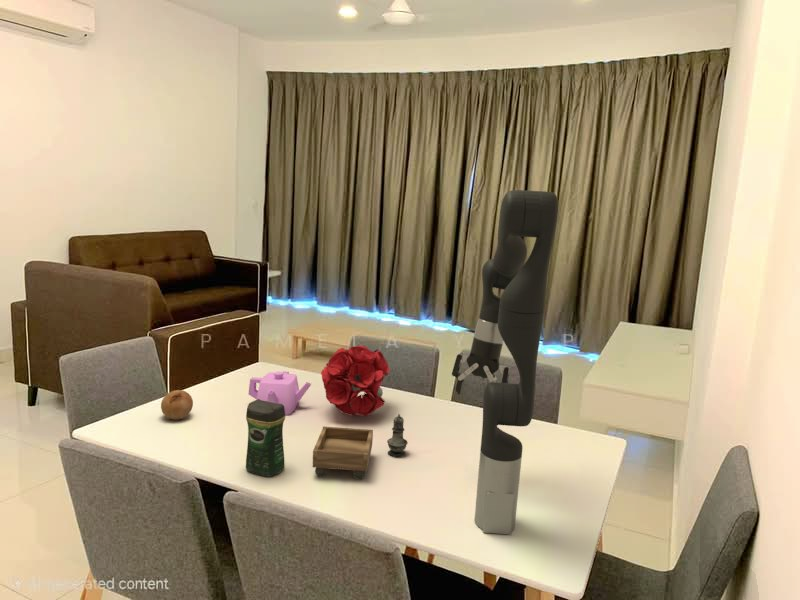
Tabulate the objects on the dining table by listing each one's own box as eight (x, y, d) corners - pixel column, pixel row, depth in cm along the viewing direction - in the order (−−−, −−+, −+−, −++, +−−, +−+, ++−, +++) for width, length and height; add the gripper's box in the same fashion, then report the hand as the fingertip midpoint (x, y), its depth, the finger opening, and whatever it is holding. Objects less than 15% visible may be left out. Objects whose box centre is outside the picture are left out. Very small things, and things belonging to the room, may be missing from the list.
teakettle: (285, 395, 209) (286, 362, 207) (313, 409, 197) (314, 374, 195) (242, 405, 198) (242, 370, 195) (269, 421, 186) (269, 384, 183)
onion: (180, 431, 182) (179, 409, 176) (154, 419, 183) (153, 396, 178) (199, 411, 189) (199, 389, 183) (175, 400, 191) (174, 378, 185)
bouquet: (338, 414, 212) (301, 396, 185) (360, 353, 218) (327, 327, 192) (392, 431, 203) (361, 415, 177) (412, 367, 210) (386, 342, 183)
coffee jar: (289, 467, 155) (290, 401, 152) (271, 480, 148) (272, 410, 145) (259, 459, 159) (259, 394, 156) (240, 471, 152) (240, 403, 148)
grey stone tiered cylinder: (382, 454, 166) (384, 414, 164) (392, 447, 171) (394, 408, 169) (401, 459, 163) (403, 419, 161) (410, 452, 169) (413, 412, 166)
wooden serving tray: (366, 482, 150) (367, 454, 149) (312, 478, 150) (313, 450, 149) (371, 454, 166) (373, 429, 164) (322, 451, 166) (323, 426, 165)
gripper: (458, 333, 148) (445, 394, 150) (513, 347, 143) (499, 410, 145) (465, 329, 155) (452, 388, 157) (518, 343, 150) (504, 403, 152)
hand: (475, 398), depth 151 cm, fingers open, 8 cm apart
